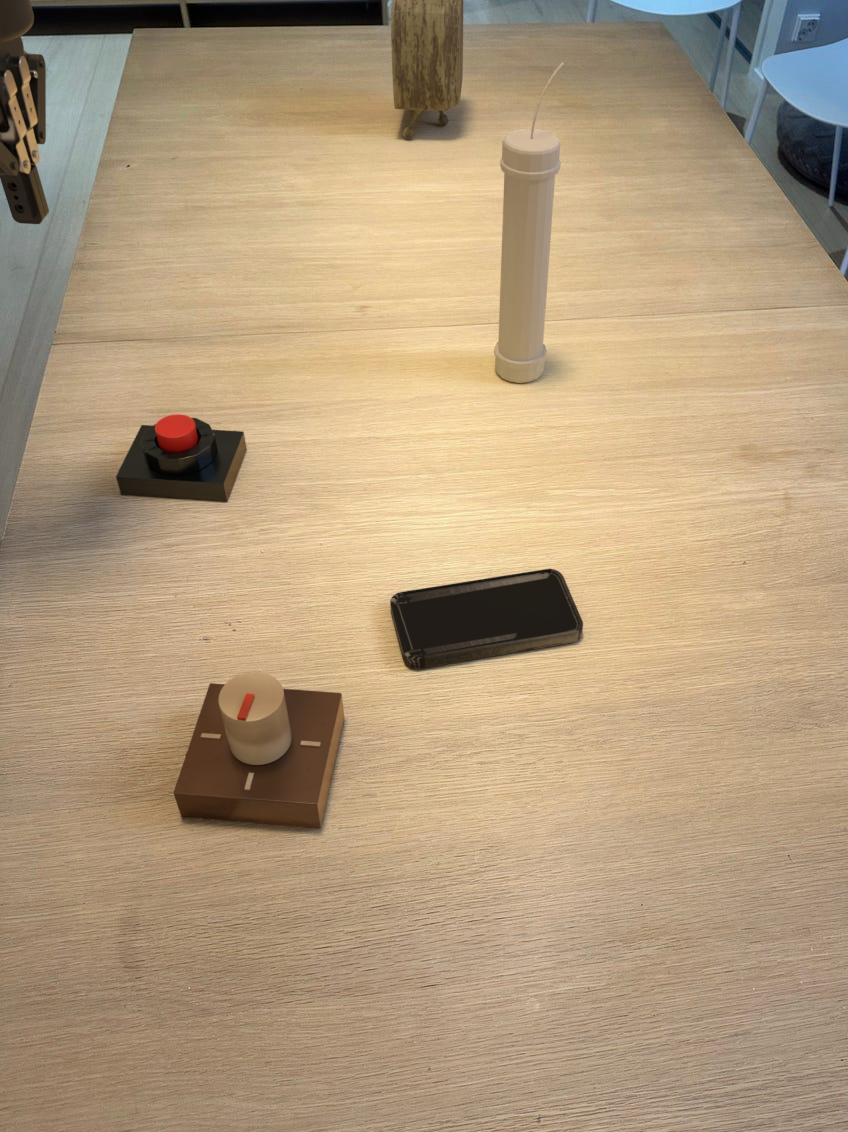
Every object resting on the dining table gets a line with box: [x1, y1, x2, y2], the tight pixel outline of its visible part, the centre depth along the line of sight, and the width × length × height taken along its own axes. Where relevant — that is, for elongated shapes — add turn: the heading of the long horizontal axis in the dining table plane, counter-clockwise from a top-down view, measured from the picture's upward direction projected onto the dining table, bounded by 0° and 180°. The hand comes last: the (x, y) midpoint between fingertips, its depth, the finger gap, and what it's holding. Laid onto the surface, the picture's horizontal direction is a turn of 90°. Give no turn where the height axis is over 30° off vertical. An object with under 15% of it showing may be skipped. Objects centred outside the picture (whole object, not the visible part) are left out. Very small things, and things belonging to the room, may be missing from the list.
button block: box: [115, 417, 248, 503], centre depth 99 cm, size 10×8×4 cm
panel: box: [172, 682, 345, 829], centre depth 77 cm, size 10×10×3 cm
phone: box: [389, 568, 584, 670], centre depth 87 cm, size 8×1×15 cm
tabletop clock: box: [390, 0, 464, 140], centre depth 148 cm, size 14×9×25 cm, turn 178°
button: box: [154, 413, 198, 452], centre depth 97 cm, size 4×4×2 cm
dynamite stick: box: [493, 61, 565, 384], centre depth 103 cm, size 6×6×30 cm
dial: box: [218, 671, 292, 765], centre depth 74 cm, size 4×4×5 cm
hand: (32, 218), depth 78 cm, fingers closed
